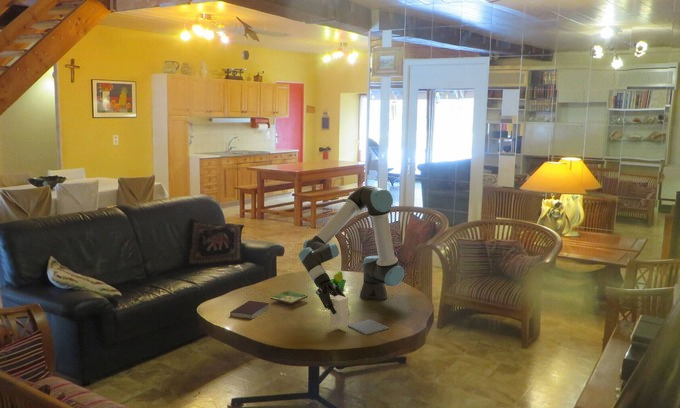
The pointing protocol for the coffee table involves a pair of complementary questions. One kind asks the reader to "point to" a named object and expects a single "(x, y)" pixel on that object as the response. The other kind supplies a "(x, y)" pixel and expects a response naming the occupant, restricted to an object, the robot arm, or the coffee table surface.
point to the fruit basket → (338, 280)
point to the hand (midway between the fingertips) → (344, 317)
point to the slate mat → (368, 327)
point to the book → (250, 309)
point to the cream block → (342, 308)
